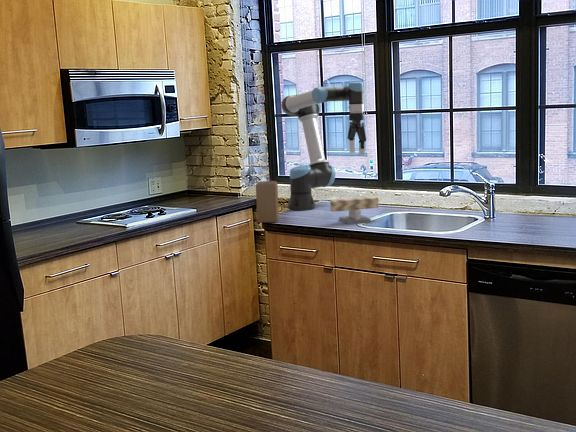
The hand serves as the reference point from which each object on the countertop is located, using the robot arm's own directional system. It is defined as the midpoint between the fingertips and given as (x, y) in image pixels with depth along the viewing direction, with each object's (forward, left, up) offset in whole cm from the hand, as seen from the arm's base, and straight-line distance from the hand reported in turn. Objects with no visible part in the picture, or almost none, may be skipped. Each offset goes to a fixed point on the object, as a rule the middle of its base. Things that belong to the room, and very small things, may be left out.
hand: (356, 154), depth 347 cm
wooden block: (-3, -48, -32) cm, 58 cm away
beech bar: (+16, -8, -26) cm, 31 cm away
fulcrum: (+16, -8, -32) cm, 36 cm away
